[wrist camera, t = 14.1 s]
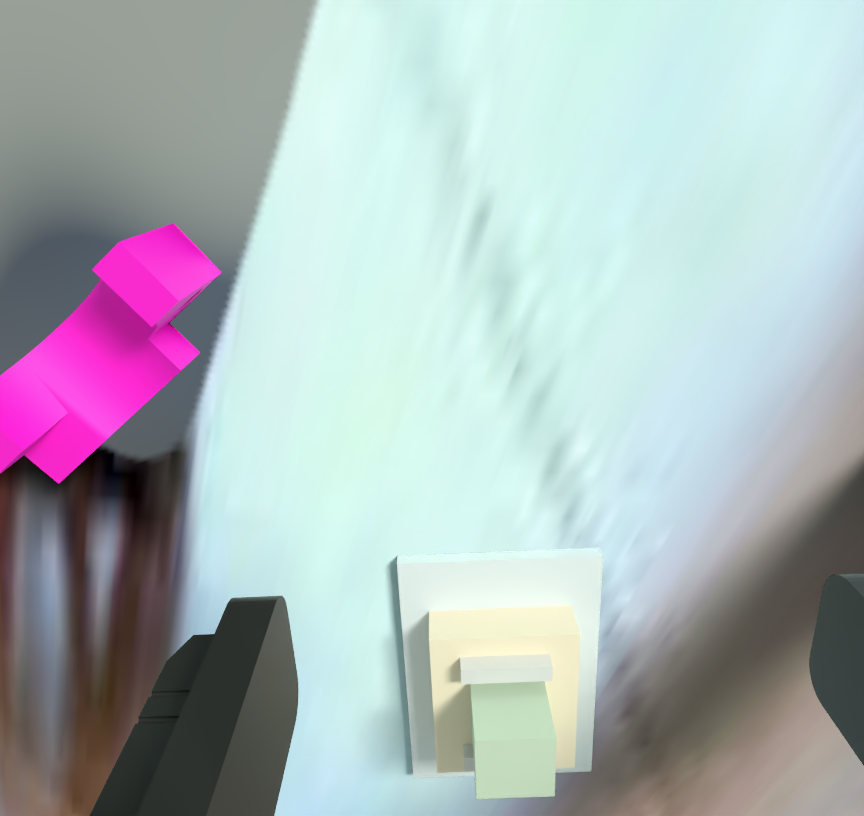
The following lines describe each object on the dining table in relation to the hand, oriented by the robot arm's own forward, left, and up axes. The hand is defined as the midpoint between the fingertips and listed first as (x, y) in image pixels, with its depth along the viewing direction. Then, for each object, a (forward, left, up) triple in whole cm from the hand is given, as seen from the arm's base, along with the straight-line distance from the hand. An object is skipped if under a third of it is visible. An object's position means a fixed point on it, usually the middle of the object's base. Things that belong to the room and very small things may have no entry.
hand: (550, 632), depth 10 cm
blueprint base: (-2, +30, -32) cm, 44 cm away
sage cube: (-2, +30, -28) cm, 41 cm away
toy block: (+20, +4, -33) cm, 39 cm away
